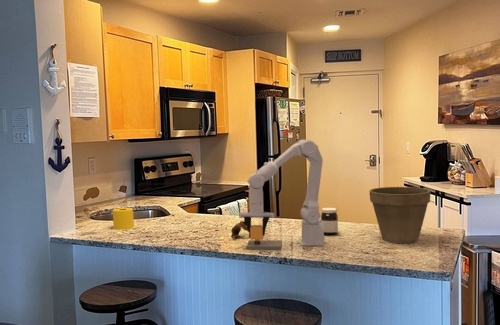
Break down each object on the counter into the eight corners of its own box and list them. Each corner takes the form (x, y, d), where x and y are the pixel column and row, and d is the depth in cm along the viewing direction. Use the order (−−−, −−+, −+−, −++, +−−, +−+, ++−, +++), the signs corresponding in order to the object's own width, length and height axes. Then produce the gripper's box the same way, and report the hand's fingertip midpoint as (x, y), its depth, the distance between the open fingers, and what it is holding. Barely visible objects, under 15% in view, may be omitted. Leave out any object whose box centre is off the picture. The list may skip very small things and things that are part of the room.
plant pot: (358, 236, 204) (357, 188, 202) (403, 230, 213) (403, 184, 211) (394, 249, 181) (394, 195, 179) (443, 243, 189) (443, 191, 188)
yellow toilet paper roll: (136, 225, 239) (135, 207, 238) (129, 229, 229) (128, 211, 228) (118, 225, 240) (117, 207, 239) (110, 229, 230) (109, 211, 229)
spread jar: (337, 236, 205) (337, 211, 204) (312, 236, 207) (312, 210, 206) (338, 230, 216) (337, 206, 215) (314, 230, 219) (313, 206, 218)
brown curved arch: (236, 234, 215) (245, 219, 214) (250, 245, 210) (259, 230, 210) (222, 233, 205) (231, 217, 204) (237, 245, 200) (246, 229, 199)
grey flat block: (282, 243, 194) (281, 232, 194) (280, 250, 184) (280, 238, 184) (249, 243, 196) (249, 232, 196) (246, 249, 186) (246, 237, 186)
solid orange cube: (263, 236, 193) (263, 225, 192) (262, 239, 188) (262, 227, 187) (251, 236, 193) (251, 225, 193) (250, 239, 188) (250, 227, 188)
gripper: (274, 200, 192) (275, 232, 193) (240, 201, 194) (241, 232, 195) (273, 203, 185) (273, 236, 186) (237, 203, 187) (238, 236, 188)
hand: (257, 234), depth 190 cm, fingers closed on solid orange cube, 5 cm apart
